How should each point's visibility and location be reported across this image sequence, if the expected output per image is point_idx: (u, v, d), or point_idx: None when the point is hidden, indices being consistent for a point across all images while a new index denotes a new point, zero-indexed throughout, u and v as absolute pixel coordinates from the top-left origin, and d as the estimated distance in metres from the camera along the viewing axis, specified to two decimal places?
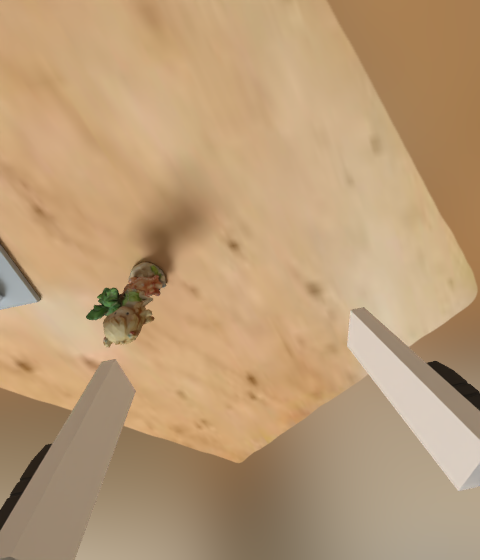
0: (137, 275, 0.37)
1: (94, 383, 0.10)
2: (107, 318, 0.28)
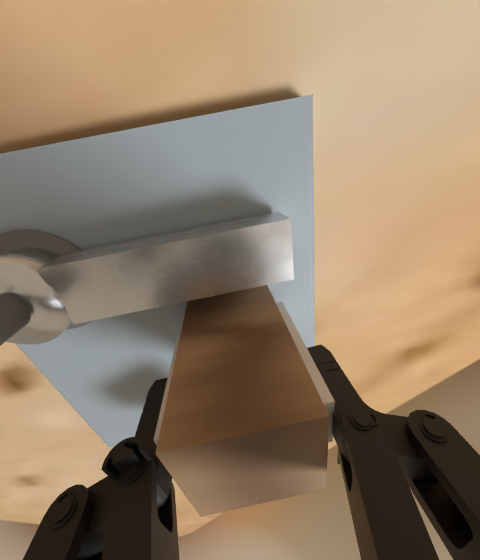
0: None
1: None
2: None
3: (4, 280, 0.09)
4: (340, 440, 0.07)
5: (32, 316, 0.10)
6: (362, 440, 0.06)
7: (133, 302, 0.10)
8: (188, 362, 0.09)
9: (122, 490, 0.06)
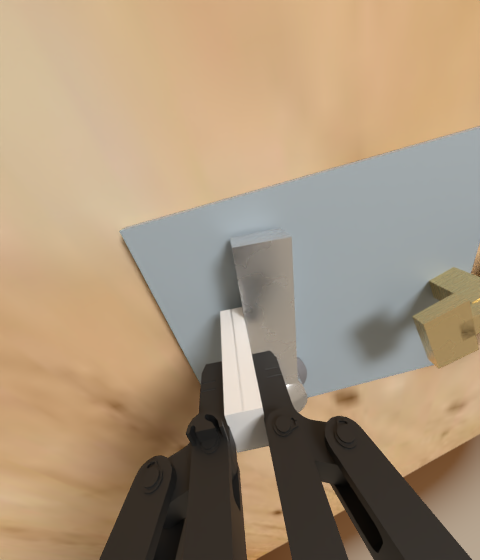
0: None
1: (226, 323, 0.12)
2: None
3: None
4: (270, 450, 0.08)
5: None
6: (283, 447, 0.07)
7: (288, 353, 0.14)
8: None
9: (202, 458, 0.07)
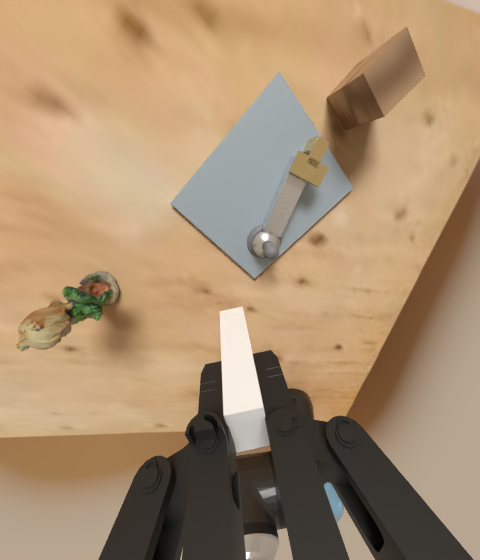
0: (108, 291, 0.37)
1: (225, 324, 0.12)
2: (65, 328, 0.26)
3: (261, 240, 0.34)
4: None
5: None
6: (284, 447, 0.07)
7: (286, 217, 0.32)
8: (364, 118, 0.26)
9: (201, 458, 0.07)
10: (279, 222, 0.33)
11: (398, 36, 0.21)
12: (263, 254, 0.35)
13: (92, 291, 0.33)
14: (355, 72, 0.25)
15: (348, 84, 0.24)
